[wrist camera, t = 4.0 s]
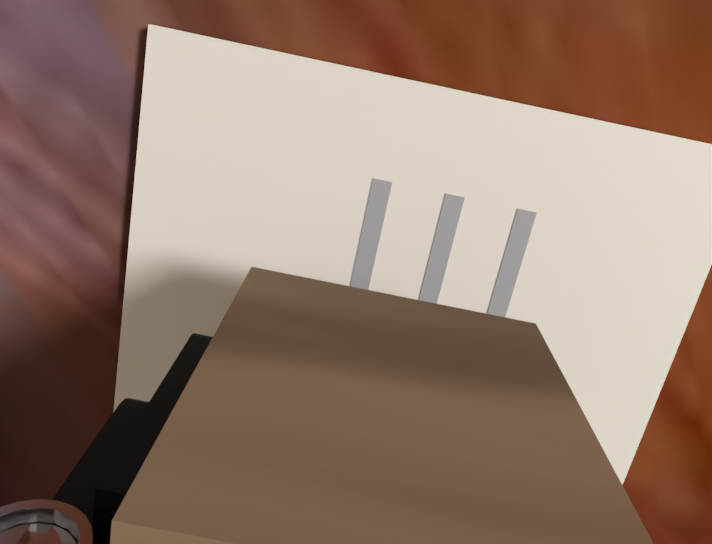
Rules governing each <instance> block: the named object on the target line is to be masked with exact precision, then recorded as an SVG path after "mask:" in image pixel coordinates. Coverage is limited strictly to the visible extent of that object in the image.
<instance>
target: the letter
mask: <svg viewBox="0 0 712 544" xmlns="http://www.w3.org/2000/svg"><path fill="white" fill-rule="evenodd" d="M711 265H712V144H709V143H704V142H699V141H695V140H690V139H685V138H680V137H676V136H671V135H666V134H662V133H657V132H652V131H648V130H643V129H638V128H634V127H629V126H624V125H620V124H615V123H610V122H606V121H601V120H596V119H592V118H587V117H582V116H578V115H573V114H568V113H564V112H559V111H554V110H550V109H545V108H540V107H535V106H531V105H526V104H521V103H517V102H512V101H507V100H503V99H498V98H493V97H489V96H484V95H479V94H475V93H470V92H465V91H461V90H456V89H451V88H447V87H442V86H437V85H433V84H428V83H423V82H419V81H414V80H409V79H404V78H400V77H395V76H390V75H386V74H381V73H376V72H372V71H367V70H362V69H358V68H353V67H348V66H344V65H339V64H334V63H330V62H325V61H320V60H316V59H311V58H306V57H302V56H297V55H292V54H288V53H283V52H278V51H274V50H269V49H264V48H259V47H255V46H250V45H245V44H241V43H236V42H231V41H227V40H222V39H217V38H213V37H208V36H203V35H199V34H194V33H189V32H185V31H180V30H175V29H171V28H166V27H161V26H157V25H151V24H148V32H147V43H146V55H145V66H144V77H143V88H142V99H141V110H140V121H139V132H138V144H137V155H136V166H135V177H134V188H133V199H132V210H131V222H130V233H129V244H128V255H127V266H126V277H125V288H124V299H123V311H122V322H121V333H120V344H119V355H118V366H117V377H116V389H115V400H114V411H115V410H116V408H117V407H118V405H119V404H120V403H121V402H122V401H123V400H124V399H126V398H131V399H136V400H141V401H146V402H149V401H150V400H151V398H152V397H153V395H154V393H155V392H156V390H157V389H158V387H159V385H160V384H161V382H162V381H163V379H164V377H165V376H166V374H167V373H168V371H169V369H170V368H171V366H172V365H173V363H174V362H175V360H176V358H177V357H178V355H179V354H180V352H181V350H182V349H183V347H184V346H185V344H186V342H187V341H188V339H189V338H190V336H191V335H192V334H193V333H196V334H201V335H206V336H211V337H213V336H214V334H215V332H216V330H217V329H218V327H219V325H220V323H221V321H222V319H223V318H224V316H225V314H226V312H227V310H228V309H229V307H230V305H231V303H232V301H233V300H234V298H235V296H236V294H237V292H238V290H239V289H240V287H241V285H242V283H243V281H244V280H245V278H246V276H247V274H248V272H249V270H250V269H251V267H256V268H261V269H266V270H271V271H276V272H281V273H286V274H291V275H296V276H301V277H306V278H311V279H316V280H321V281H326V282H331V283H336V284H341V285H346V286H351V287H356V288H361V289H366V290H371V291H376V292H381V293H386V294H391V295H396V296H401V297H406V298H411V299H416V300H421V301H426V302H431V303H436V304H441V305H446V306H451V307H456V308H461V309H466V310H471V311H476V312H481V313H486V314H491V315H496V316H501V317H506V318H511V319H516V320H521V321H526V322H531V323H536V325H537V327H538V329H539V330H540V332H541V334H542V336H543V338H544V340H545V342H546V344H547V345H548V347H549V349H550V351H551V353H552V355H553V357H554V359H555V360H556V362H557V364H558V366H559V368H560V370H561V372H562V374H563V375H564V377H565V379H566V381H567V383H568V385H569V387H570V388H571V390H572V392H573V394H574V396H575V398H576V400H577V402H578V403H579V405H580V407H581V409H582V411H583V413H584V415H585V417H586V418H587V420H588V422H589V424H590V426H591V428H592V430H593V432H594V433H595V435H596V437H597V439H598V441H599V443H600V445H601V446H602V448H603V450H604V452H605V454H606V456H607V458H608V460H609V461H610V463H611V465H612V467H613V469H614V471H615V473H616V475H617V476H618V478H619V480H620V482H621V484H622V485H623V482H624V480H625V477H626V475H627V473H628V470H629V468H630V465H631V463H632V460H633V458H634V455H635V453H636V450H637V448H638V445H639V443H640V440H641V438H642V435H643V433H644V431H645V428H646V426H647V423H648V421H649V418H650V416H651V413H652V411H653V408H654V406H655V403H656V401H657V398H658V396H659V393H660V391H661V389H662V386H663V384H664V381H665V379H666V376H667V374H668V371H669V369H670V366H671V364H672V361H673V359H674V356H675V354H676V351H677V349H678V347H679V344H680V342H681V339H682V337H683V334H684V332H685V329H686V327H687V324H688V322H689V319H690V317H691V314H692V312H693V309H694V307H695V305H696V302H697V300H698V297H699V295H700V292H701V290H702V287H703V285H704V282H705V280H706V277H707V275H708V272H709V270H710V267H711ZM114 411H113V412H114Z"/></svg>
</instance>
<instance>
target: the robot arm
mask: <svg viewBox="0 0 712 544" xmlns="http://www.w3.org/2000/svg"><path fill="white" fill-rule="evenodd" d="M212 338H213V337H211V336H206V335H201V334H196V333H193V334H192V335H191V336H190V338H189V339H188V341H187V342H186V344H185V346H184V347H183V349H182V350H181V352H180V354H179V355H178V357H177V358H176V360H175V362H174V363H173V365H172V366H171V368H170V369H169V371H168V373H167V374H166V376H165V377H164V379H163V381H162V382H161V384H160V385H159V387H158V389H157V390H156V392H155V393H154V395H153V397H152V398H151V400H150V401H149V402H146V401H141V400H136V399H131V398H126V399H124V400H123V401H122V402H121V403H120V404H119V405H118V407H117V408H116V410H115V411H114V412H113V414H112V415H111V417H110V418H109V420H108V421H107V422H106V424H105V425H104V427H103V428H102V429H101V431H100V432H99V434H98V435H97V437H96V438H95V439H94V441H93V442H92V444H91V445H90V447H89V448H88V449H87V451H86V452H85V454H84V455H83V456H82V458H81V459H80V461H79V462H78V464H77V465H76V466H75V468H74V469H73V471H72V472H71V474H70V475H69V476H68V478H67V479H66V481H65V482H64V483H63V485H62V486H61V488H60V489H59V491H58V492H57V493H56V495H55V496H54V498H53V499H52V500H46V499H34V500H25V501H18V502H15V503H12V504H9V505H5V506H2V507H0V544H110V536H111V523H112V519H113V517H114V516H115V514H116V512H117V510H118V508H119V506H120V505H121V503H122V501H123V499H124V497H125V496H126V494H127V492H128V490H129V488H130V487H131V485H132V483H133V481H134V479H135V477H136V476H137V474H138V472H139V470H140V468H141V467H142V465H143V463H144V461H145V459H146V457H147V456H148V454H149V452H150V450H151V448H152V447H153V445H154V443H155V441H156V439H157V437H158V436H159V434H160V432H161V430H162V428H163V427H164V425H165V423H166V421H167V419H168V418H169V416H170V414H171V412H172V410H173V408H174V407H175V405H176V403H177V401H178V399H179V398H180V396H181V394H182V392H183V390H184V388H185V387H186V385H187V383H188V381H189V379H190V378H191V376H192V374H193V372H194V370H195V368H196V367H197V365H198V363H199V361H200V359H201V358H202V356H203V354H204V352H205V350H206V349H207V347H208V345H209V343H210V341H211V339H212Z"/></svg>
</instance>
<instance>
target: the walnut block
mask: <svg viewBox="0 0 712 544" xmlns="http://www.w3.org/2000/svg"><path fill="white" fill-rule="evenodd" d="M110 544H653V542H652V540H651V538H650V536H649V534H648V533H647V531H646V529H645V527H644V525H643V523H642V521H641V519H640V518H639V516H638V514H637V512H636V510H635V508H634V506H633V504H632V503H631V501H630V499H629V497H628V495H627V493H626V491H625V489H624V488H623V486H622V484H621V482H620V480H619V478H618V476H617V475H616V473H615V471H614V469H613V467H612V465H611V463H610V461H609V460H608V458H607V456H606V454H605V452H604V450H603V448H602V446H601V445H600V443H599V441H598V439H597V437H596V435H595V433H594V432H593V430H592V428H591V426H590V424H589V422H588V420H587V418H586V417H585V415H584V413H583V411H582V409H581V407H580V405H579V403H578V402H577V400H576V398H575V396H574V394H573V392H572V390H571V388H570V387H569V385H568V383H567V381H566V379H565V377H564V375H563V374H562V372H561V370H560V368H559V366H558V364H557V362H556V360H555V359H554V357H553V355H552V353H551V351H550V349H549V347H548V345H547V344H546V342H545V340H544V338H543V336H542V334H541V332H540V330H539V329H538V327H537V325H536V323H531V322H526V321H521V320H516V319H511V318H506V317H501V316H496V315H491V314H486V313H481V312H476V311H471V310H466V309H461V308H456V307H451V306H446V305H441V304H436V303H431V302H426V301H421V300H416V299H411V298H406V297H401V296H396V295H391V294H386V293H381V292H376V291H371V290H366V289H361V288H356V287H351V286H346V285H341V284H336V283H331V282H326V281H321V280H316V279H311V278H306V277H301V276H296V275H291V274H286V273H281V272H276V271H271V270H266V269H261V268H256V267H251V269H250V270H249V272H248V274H247V276H246V278H245V280H244V281H243V283H242V285H241V287H240V289H239V290H238V292H237V294H236V296H235V298H234V300H233V301H232V303H231V305H230V307H229V309H228V310H227V312H226V314H225V316H224V318H223V319H222V321H221V323H220V325H219V327H218V329H217V330H216V332H215V334H214V336H213V338H212V339H211V341H210V343H209V345H208V347H207V349H206V350H205V352H204V354H203V356H202V358H201V359H200V361H199V363H198V365H197V367H196V368H195V370H194V372H193V374H192V376H191V378H190V379H189V381H188V383H187V385H186V387H185V388H184V390H183V392H182V394H181V396H180V398H179V399H178V401H177V403H176V405H175V407H174V408H173V410H172V412H171V414H170V416H169V418H168V419H167V421H166V423H165V425H164V427H163V428H162V430H161V432H160V434H159V436H158V437H157V439H156V441H155V443H154V445H153V447H152V448H151V450H150V452H149V454H148V456H147V457H146V459H145V461H144V463H143V465H142V467H141V468H140V470H139V472H138V474H137V476H136V477H135V479H134V481H133V483H132V485H131V487H130V488H129V490H128V492H127V494H126V496H125V497H124V499H123V501H122V503H121V505H120V506H119V508H118V510H117V512H116V514H115V516H114V517H113V519H112V523H111V536H110Z"/></svg>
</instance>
